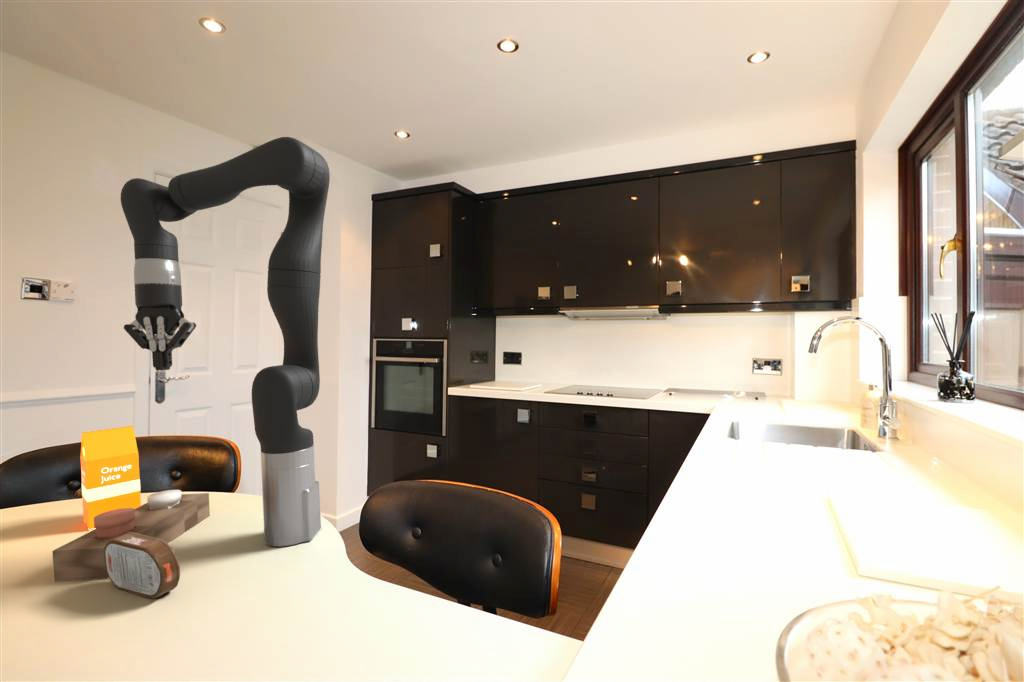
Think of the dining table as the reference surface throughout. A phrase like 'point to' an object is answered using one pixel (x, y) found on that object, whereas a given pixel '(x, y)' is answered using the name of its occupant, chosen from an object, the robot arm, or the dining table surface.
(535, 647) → the dining table surface
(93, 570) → the block
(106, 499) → the orange juice
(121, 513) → the brick plunger
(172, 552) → the tin
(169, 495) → the white rounded piece
